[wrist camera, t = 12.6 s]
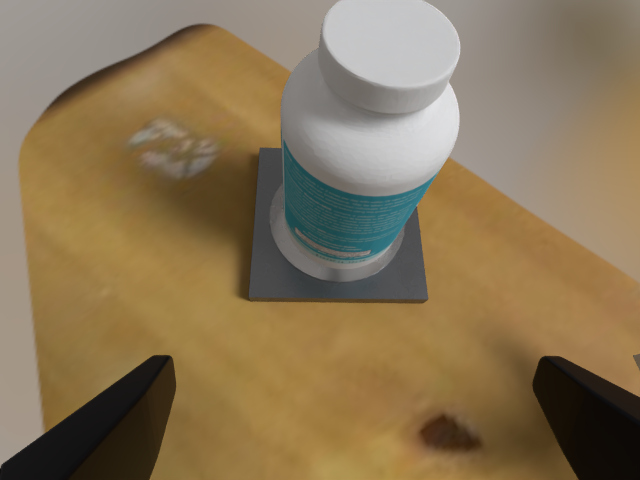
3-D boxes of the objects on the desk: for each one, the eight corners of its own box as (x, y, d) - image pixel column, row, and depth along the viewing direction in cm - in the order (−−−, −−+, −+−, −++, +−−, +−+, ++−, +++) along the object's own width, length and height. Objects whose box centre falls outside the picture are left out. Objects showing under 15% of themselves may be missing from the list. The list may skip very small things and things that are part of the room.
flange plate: (422, 303, 24) (429, 298, 23) (250, 301, 23) (248, 296, 22) (406, 161, 28) (411, 151, 27) (261, 156, 28) (259, 145, 27)
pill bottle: (411, 258, 24) (545, 105, 11) (299, 285, 22) (313, 147, 10) (374, 162, 26) (449, -45, 14) (272, 182, 25) (256, -28, 13)
